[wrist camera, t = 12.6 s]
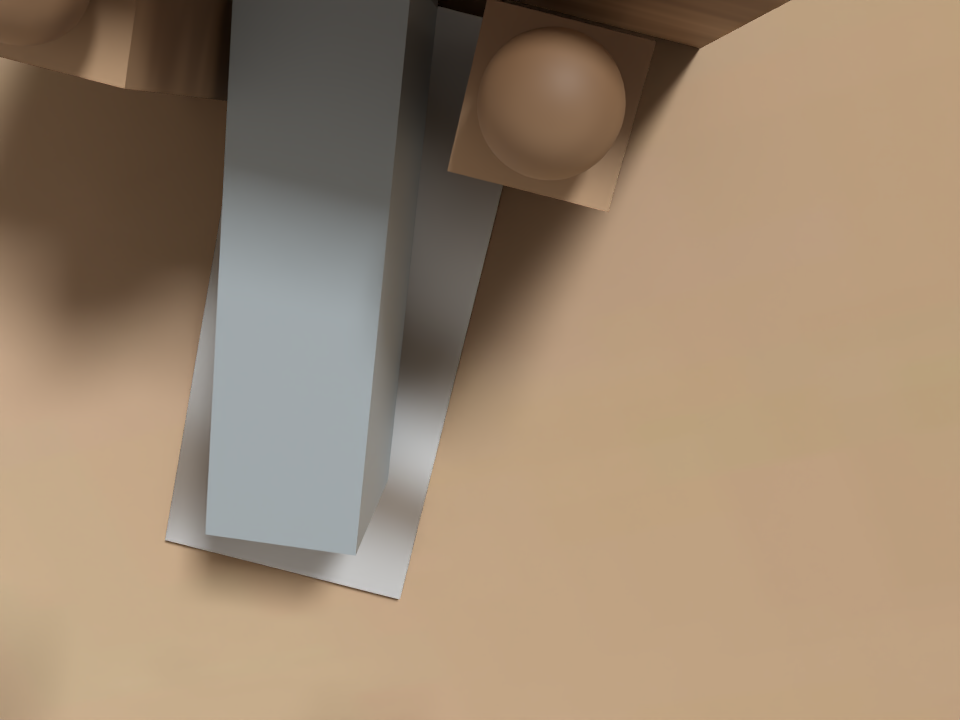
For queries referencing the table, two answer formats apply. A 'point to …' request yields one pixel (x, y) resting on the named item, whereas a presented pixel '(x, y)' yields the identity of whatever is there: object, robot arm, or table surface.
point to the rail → (314, 263)
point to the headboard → (441, 194)
